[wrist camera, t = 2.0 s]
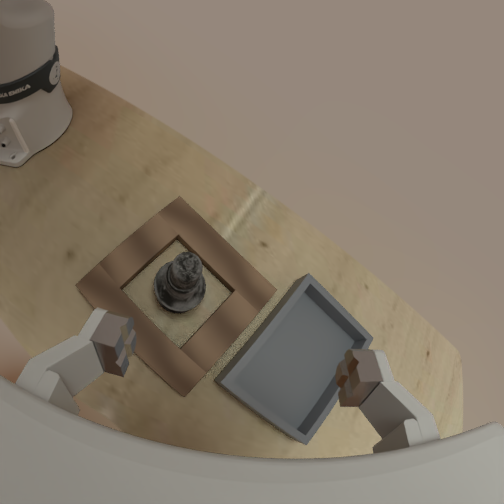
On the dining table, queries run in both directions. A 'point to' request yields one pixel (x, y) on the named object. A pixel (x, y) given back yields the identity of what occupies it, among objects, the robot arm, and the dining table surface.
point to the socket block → (214, 259)
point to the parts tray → (295, 360)
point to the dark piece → (180, 283)
